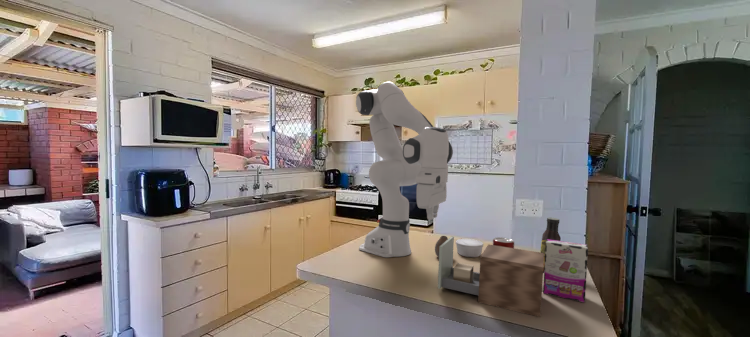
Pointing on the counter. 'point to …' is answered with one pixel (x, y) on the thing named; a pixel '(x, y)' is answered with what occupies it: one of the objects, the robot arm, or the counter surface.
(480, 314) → the counter surface
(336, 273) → the counter surface
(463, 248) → the ramekin
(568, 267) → the candy bar box
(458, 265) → the block
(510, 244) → the soda can
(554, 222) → the sauce bottle
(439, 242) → the vase
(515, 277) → the tan box
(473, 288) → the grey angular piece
